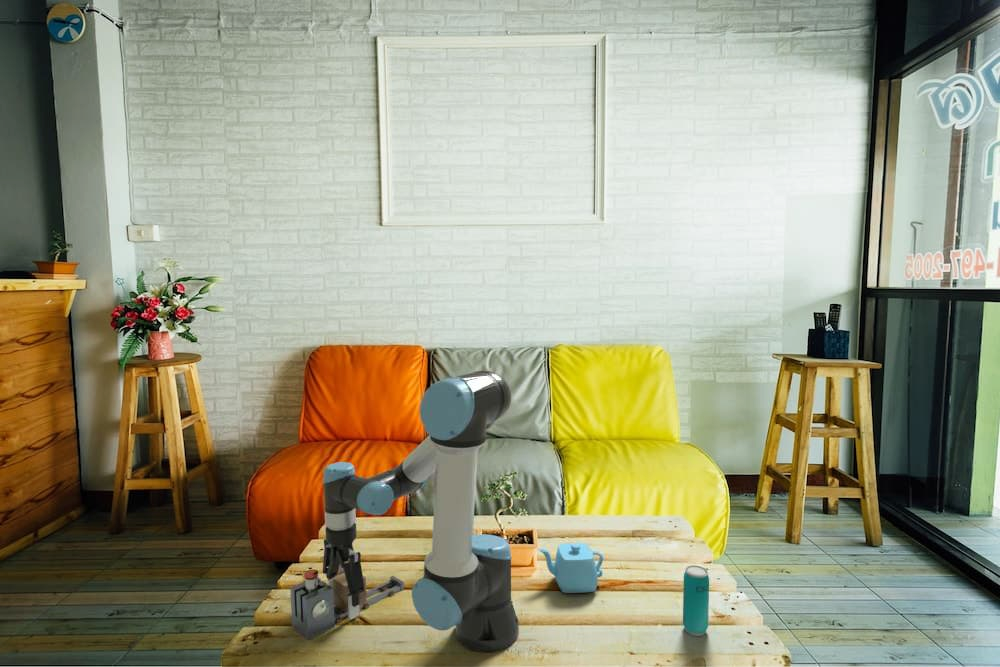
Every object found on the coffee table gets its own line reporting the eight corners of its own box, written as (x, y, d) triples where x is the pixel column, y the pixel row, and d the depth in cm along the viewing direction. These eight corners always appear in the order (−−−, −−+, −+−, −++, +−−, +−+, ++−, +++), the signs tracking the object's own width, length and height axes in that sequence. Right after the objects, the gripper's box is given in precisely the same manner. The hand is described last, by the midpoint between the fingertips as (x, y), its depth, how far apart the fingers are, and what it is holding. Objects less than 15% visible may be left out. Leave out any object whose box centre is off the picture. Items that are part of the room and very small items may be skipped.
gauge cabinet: (335, 627, 139) (334, 588, 138) (308, 640, 134) (307, 600, 133) (318, 614, 145) (316, 576, 144) (292, 626, 140) (290, 587, 139)
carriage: (366, 603, 147) (365, 577, 146) (346, 612, 143) (345, 586, 142) (353, 594, 151) (353, 569, 150) (333, 603, 147) (332, 577, 146)
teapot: (535, 575, 163) (535, 536, 162) (597, 572, 164) (597, 534, 163) (541, 598, 151) (541, 557, 150) (608, 596, 152) (608, 554, 151)
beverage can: (713, 635, 134) (714, 574, 133) (692, 639, 133) (693, 578, 131) (698, 621, 140) (699, 563, 139) (677, 625, 138) (678, 566, 137)
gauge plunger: (321, 599, 139) (320, 572, 138) (309, 604, 137) (308, 577, 136) (315, 594, 141) (313, 568, 141) (302, 599, 139) (301, 573, 138)
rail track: (404, 589, 156) (404, 582, 156) (306, 638, 135) (305, 630, 135) (392, 581, 160) (391, 575, 160) (294, 627, 139) (293, 620, 139)
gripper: (377, 532, 139) (380, 619, 141) (332, 508, 154) (335, 588, 156) (350, 542, 133) (354, 633, 136) (306, 517, 148) (309, 599, 150)
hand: (344, 609), depth 146 cm, fingers open, 9 cm apart
